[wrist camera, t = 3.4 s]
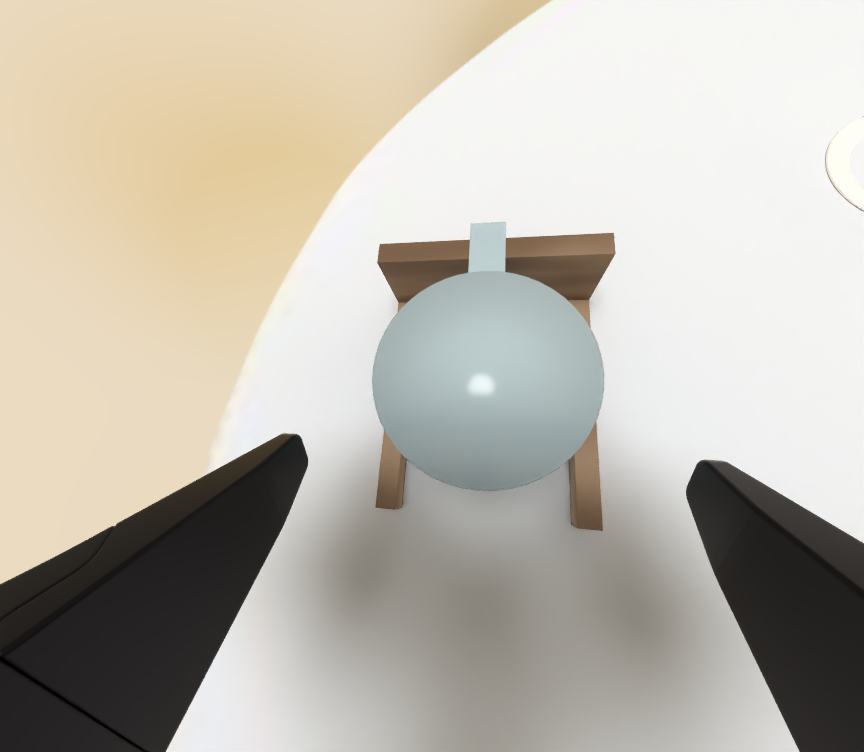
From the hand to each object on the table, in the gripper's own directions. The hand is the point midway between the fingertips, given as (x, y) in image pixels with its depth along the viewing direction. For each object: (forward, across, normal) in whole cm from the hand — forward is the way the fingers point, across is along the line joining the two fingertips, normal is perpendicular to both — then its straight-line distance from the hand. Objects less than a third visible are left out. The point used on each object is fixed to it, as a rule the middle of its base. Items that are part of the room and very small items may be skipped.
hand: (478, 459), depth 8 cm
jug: (+9, 0, +4) cm, 10 cm away
